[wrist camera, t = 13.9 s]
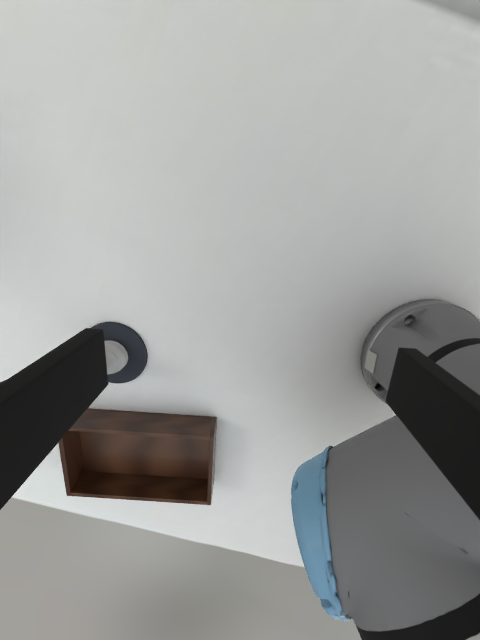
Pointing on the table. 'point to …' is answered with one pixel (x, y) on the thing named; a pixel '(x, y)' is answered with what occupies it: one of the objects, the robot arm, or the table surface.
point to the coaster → (131, 345)
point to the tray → (140, 456)
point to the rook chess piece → (115, 356)
